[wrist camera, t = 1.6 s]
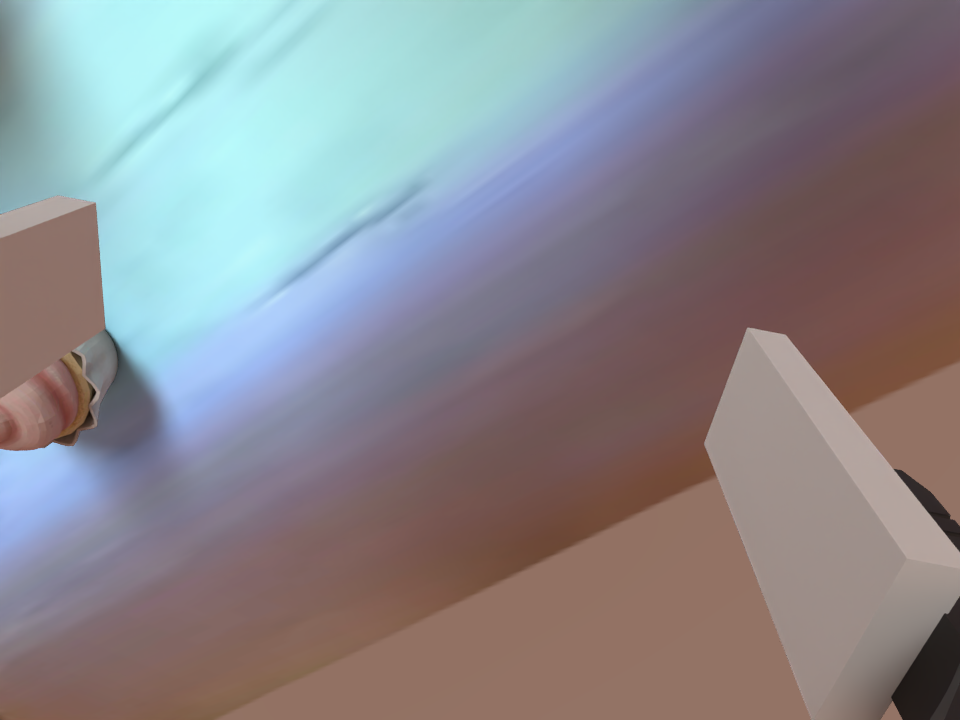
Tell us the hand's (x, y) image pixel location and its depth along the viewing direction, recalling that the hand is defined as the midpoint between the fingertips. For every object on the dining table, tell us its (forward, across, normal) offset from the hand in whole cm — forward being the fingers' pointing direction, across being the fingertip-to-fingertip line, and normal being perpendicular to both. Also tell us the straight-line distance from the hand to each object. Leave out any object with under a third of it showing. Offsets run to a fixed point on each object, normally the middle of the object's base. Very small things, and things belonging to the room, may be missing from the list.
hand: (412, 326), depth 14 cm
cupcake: (+26, -25, -18) cm, 40 cm away
